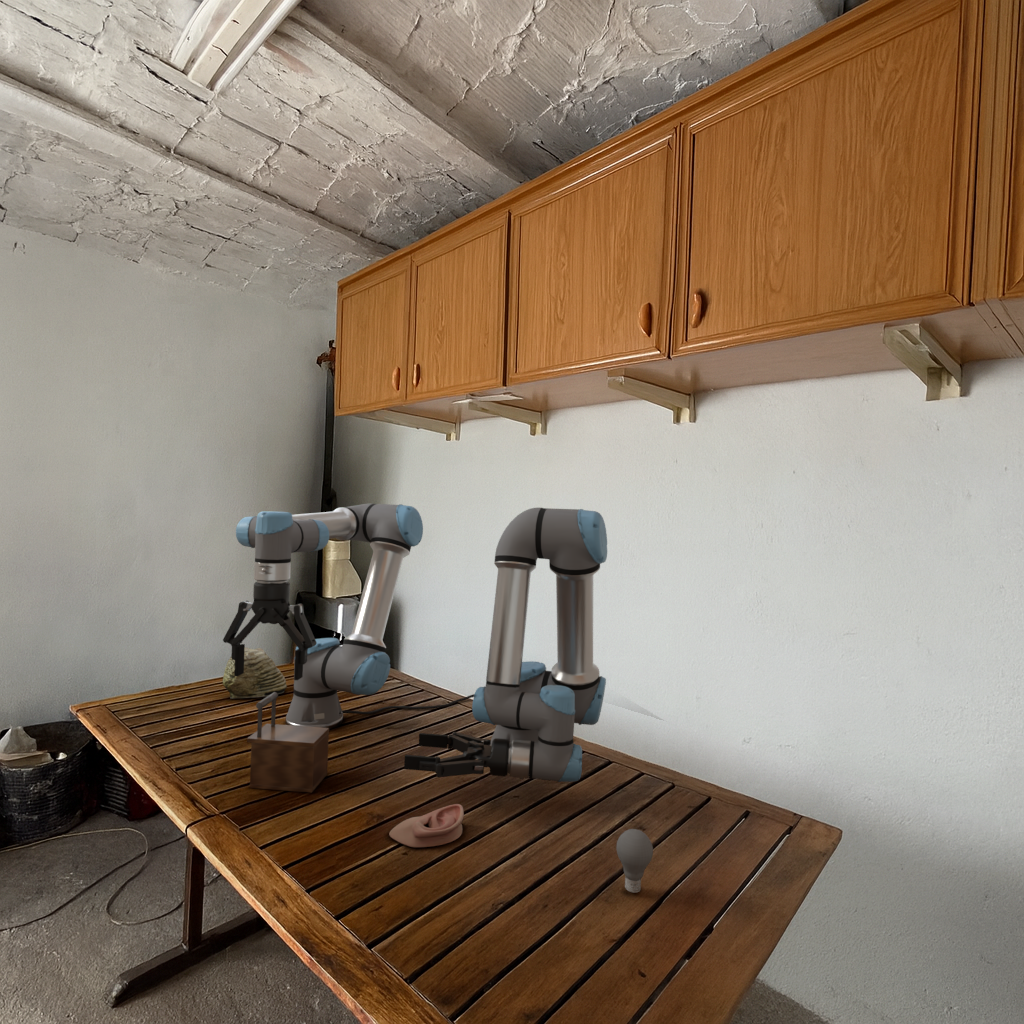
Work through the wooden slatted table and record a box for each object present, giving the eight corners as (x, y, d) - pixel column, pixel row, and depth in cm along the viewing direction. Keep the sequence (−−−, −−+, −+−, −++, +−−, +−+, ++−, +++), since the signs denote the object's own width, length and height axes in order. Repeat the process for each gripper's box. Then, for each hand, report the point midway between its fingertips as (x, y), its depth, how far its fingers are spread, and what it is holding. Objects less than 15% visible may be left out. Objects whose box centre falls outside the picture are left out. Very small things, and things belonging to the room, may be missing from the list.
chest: (249, 788, 136) (251, 743, 136) (269, 770, 145) (270, 727, 145) (311, 792, 135) (313, 747, 135) (327, 774, 144) (328, 732, 144)
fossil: (218, 695, 195) (220, 647, 195) (278, 685, 208) (279, 640, 207) (228, 703, 189) (230, 653, 188) (289, 692, 201) (290, 645, 201)
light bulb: (610, 879, 108) (613, 822, 108) (644, 879, 109) (647, 822, 109) (619, 902, 102) (622, 840, 102) (655, 901, 103) (658, 840, 103)
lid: (246, 742, 136) (248, 703, 136) (266, 727, 145) (267, 690, 145) (313, 747, 135) (314, 707, 135) (328, 731, 144) (330, 694, 144)
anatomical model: (383, 821, 117) (406, 793, 128) (382, 842, 117) (405, 813, 128) (452, 832, 114) (469, 802, 125) (451, 853, 114) (468, 822, 125)
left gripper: (208, 580, 137) (205, 677, 138) (320, 586, 135) (316, 685, 136) (226, 576, 145) (223, 668, 145) (333, 582, 143) (329, 675, 143)
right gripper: (503, 800, 123) (396, 791, 125) (512, 754, 148) (423, 747, 150) (505, 762, 124) (398, 753, 125) (514, 722, 148) (425, 715, 150)
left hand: (268, 676), depth 140 cm, fingers open, 13 cm apart
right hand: (412, 750), depth 138 cm, fingers open, 13 cm apart
